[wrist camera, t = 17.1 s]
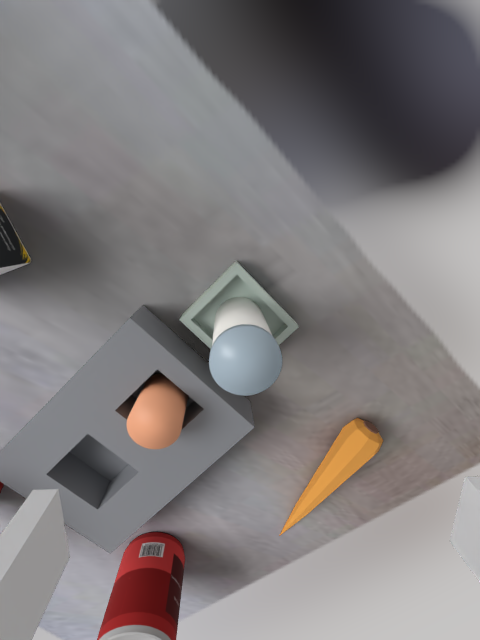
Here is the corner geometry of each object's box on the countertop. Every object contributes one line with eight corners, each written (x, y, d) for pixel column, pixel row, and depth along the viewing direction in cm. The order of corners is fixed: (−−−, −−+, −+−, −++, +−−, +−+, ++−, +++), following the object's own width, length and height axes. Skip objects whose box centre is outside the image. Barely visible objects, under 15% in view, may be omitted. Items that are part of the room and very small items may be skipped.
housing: (13, 438, 37) (-18, 469, 32) (143, 304, 34) (129, 317, 29) (123, 515, 41) (110, 553, 36) (250, 401, 37) (254, 427, 32)
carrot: (353, 406, 39) (353, 423, 35) (387, 429, 38) (391, 449, 34) (269, 512, 45) (260, 537, 41) (296, 534, 44) (290, 562, 40)
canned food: (111, 550, 42) (74, 659, 32) (159, 519, 41) (137, 620, 31) (151, 584, 44) (128, 697, 33) (197, 554, 43) (189, 661, 32)
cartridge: (214, 344, 34) (209, 396, 24) (213, 295, 33) (208, 327, 22) (263, 343, 34) (280, 395, 24) (264, 295, 33) (283, 327, 22)
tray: (181, 314, 34) (179, 320, 32) (236, 260, 33) (237, 262, 31) (241, 370, 36) (242, 378, 34) (295, 321, 35) (299, 326, 33)
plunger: (133, 393, 34) (115, 426, 29) (164, 363, 34) (151, 391, 28) (167, 421, 35) (156, 458, 30) (197, 392, 35) (192, 425, 29)
